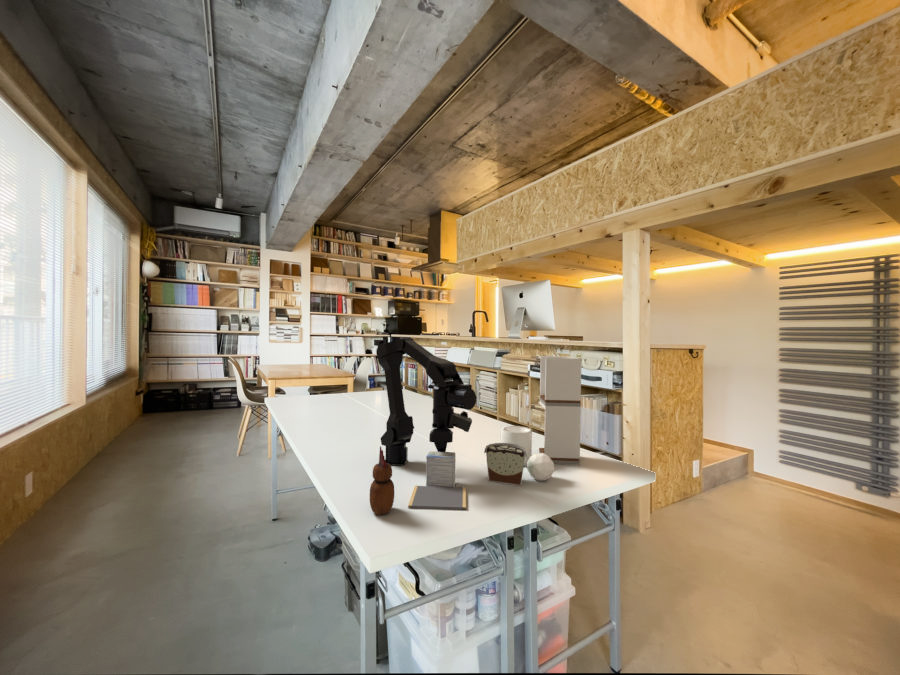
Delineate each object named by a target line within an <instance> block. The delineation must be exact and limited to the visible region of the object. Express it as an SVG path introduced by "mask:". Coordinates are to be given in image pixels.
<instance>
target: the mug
mask: <svg viewBox="0 0 900 675" xmlns="http://www.w3.org/2000/svg"><path fill="white" fill-rule="evenodd" d="M500 433H501V434H500V437H501V438H500V443H510V444H516V445H519V446H522V447H523V448H524V449H525V451H526V454H527V458H526V455H525V458H524V466H525V467H526V466H527V462H528V460H529V458H530V456H532V455H533V452H532V451H533V450H532V448H533V447H532V445H533V443H532V442H533V440H532V439H533V429H532V428H530V427H527V426H522V425H507V426H503V427H501V431H500Z"/></svg>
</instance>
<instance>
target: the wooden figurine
mask: <svg viewBox="0 0 900 675" xmlns="http://www.w3.org/2000/svg"><path fill="white" fill-rule="evenodd" d="M378 456H379V457H378V463H376V464H375V465H373V468H372V479H373V481H372V482H371V484H370V487H369V488H370V489H369V506H370V509H371V511H372V513H374V514H376V515H378V516H382V515H386V514H388V513H390V511H391V510H392V508H393V506H394V501H395V485H394V482H393V481H392V480H391V479H392V477H393V468H392V465H390V464H388V463H386V461H385V458H386V457H385V455H384V450H383V449H382V445H381V446H379V455H378Z"/></svg>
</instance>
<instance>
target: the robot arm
mask: <svg viewBox="0 0 900 675" xmlns="http://www.w3.org/2000/svg"><path fill="white" fill-rule="evenodd" d="M375 351H376V357H377V361H378V365H380V366H381V369H383V371H384V377H385V385H386V393H387V394H386V395H387V400H388V408H389V409H388V410H389V416H388V418H387V421H386V422H385V423H386V426H385V427H386V431H385V432H384V433H383V435H382V436H381V437H380V443H381V446H385V457H384V458H385V461H386V463H388V464H390V465H391V466H405V464H406V463H407V461H408V455H409V452H408V451H409V450H408V449H409V448H408V446H407V444H408V443H411V441H412V436H413V435H414V429H415V426H414V420H413V419H414V418H413V416H412V415H410V416H409V415H408V413H407V412H406V407H405V400H404V392H403V385H402V380H401V378H402V377H401V370H400V368H401V365H402V363H403V361H404V355H407V356H409V357H410V358H411V359H412V360H414V361H415V362H416V363H418V364H419V365H420V366H421V367H423V368H424V370H425V373H426V375H427V376H428V377H429V378H430V379H431V383H430V384H428V386H427V388H428V389H430V390H431V389H432V390H433V391H432V392H433V393H432V402H433V403H432V411H431V412H432V423H431V426H432V428H433V429H431V431H430V432H429V440H428V441H429V442H430V443H433V444H434V446H435V449H436V452H447V448H448V443H453V437H454V436H453V435H454V432H453V430H451V429H454V428H456V429H460V430H463V432H464V433H465V432H466V433H469V432H470V428H471V426H472V423H473V419H472V418H471V417H469V414H468V412H466V411H464V410H468V411H469V410H472V409H473V408H474V407H475V406H476V403H477V395H476V394H477V393H476V392H475V390H474V389H473V387H472V384H468V383H467V384H464V381H463V380H462V378H461V376H460V374H459V372H458V370H457V366H456V364H455V363H454V362H453V361H450V360H448V359H445V358H443V357H438V356H436V355H435V354H433V353H432V352H430V351H429V350H427V349H426V348H424V347H423V346H422V345H420V344H419V343H418V342H416V341H415V339H414V338H412V337H410V336H409V337H407V336H406V337H403V336H402V337H399V338H397V339H395V340H391V341H387V342H386V343H385V342H384V343H380V344H379V345H378V347H377V348H376V350H375ZM455 408H458V409H462V411H461V412H460V413H457V412H455Z"/></svg>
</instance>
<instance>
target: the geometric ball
mask: <svg viewBox="0 0 900 675" xmlns="http://www.w3.org/2000/svg"><path fill="white" fill-rule="evenodd" d="M526 466H527V468H526V469H527V471H528V473H529V475H530V476H531V477H532V478H533V479H534V480H536V481H546V480H548V479H550V478H552V475H553V474H554V472H555V464H554V463H553V461H552V460H551V459H550V457H549V456H547V455H546V454H544V453H539V452H537V453H534V454H532V456H530V458H529V460H528V462H527V465H526Z"/></svg>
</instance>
